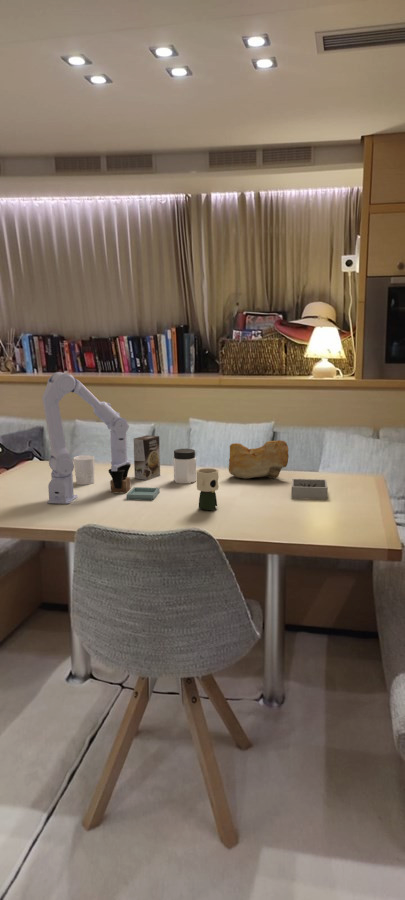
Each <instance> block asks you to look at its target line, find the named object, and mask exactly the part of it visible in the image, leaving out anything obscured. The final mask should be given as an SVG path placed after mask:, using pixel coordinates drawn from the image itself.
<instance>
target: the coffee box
mask: <svg viewBox="0 0 405 900" xmlns="http://www.w3.org/2000/svg"><path fill="white" fill-rule="evenodd" d="M160 451H161V450H160V436H158V435H149V434H147V435H142V436H138V437H135V438H133V465H134V466H133V467H134V479H138V480H144V481H148V480H151V479H154V478H156V477H160V476H161V459H160V458H161V457H160V456H161V455H160Z"/></svg>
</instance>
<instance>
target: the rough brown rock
mask: <svg viewBox="0 0 405 900" xmlns="http://www.w3.org/2000/svg"><path fill="white" fill-rule="evenodd" d="M289 457H290V456H289V446H288V444H287V442H286V441H285V440H269V441H266V442H265V443H264V444H263V445H261V446H259V447H256V448H248V447H247V446H245V445H243V444H242V443H238V442H237V443H231V444H230V445H229V459H228V472H229V475H231V476H234V477H235V478H240V479H251V478H263V477H267V478H269V479H272V478H275V479H277V478H279V476H280V472H281V471H282V469H283V468H286V467H287V465H288V464H289Z"/></svg>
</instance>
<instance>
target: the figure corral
mask: <svg viewBox="0 0 405 900" xmlns="http://www.w3.org/2000/svg"><path fill="white" fill-rule="evenodd" d="M310 481H311V482H310ZM300 483H301V484H303V485H304V484H305V487H303V486H302V485H301V484H300ZM308 484H310V486H314V484H317V485H315V487H307V486H308ZM328 488H329V487H328V480H327V479H321V478H320V479H317V478H313V479H312V478H291V495H290V496H291V497H292V498H291V499H305V498H308V499H312V500H313V499H314V500H315V499H316V500H327V499H328Z"/></svg>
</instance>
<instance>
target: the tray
mask: <svg viewBox="0 0 405 900" xmlns="http://www.w3.org/2000/svg"><path fill="white" fill-rule="evenodd" d="M160 493H161V491H160V487H147V486H146V487H143V486H142V487H138V486H136V487H135V486H133V487H131V489H130V490H129V491H128V492H127V493H125V494H126V500H133V501H136V500H137V501H139V500H140V501H154V500H155V499H156V498H157V497H158V496H159V494H160Z"/></svg>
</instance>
